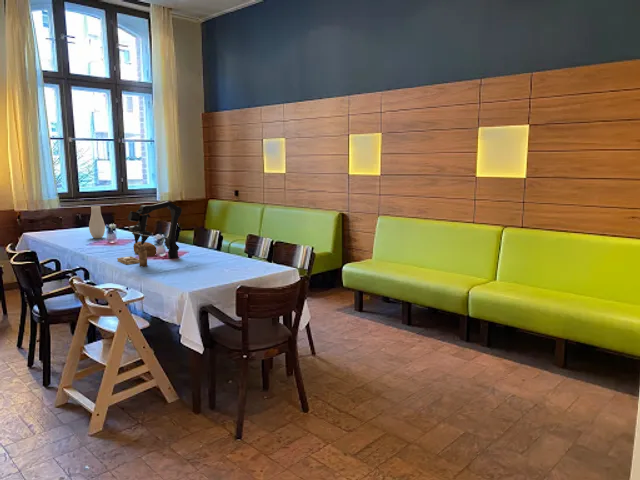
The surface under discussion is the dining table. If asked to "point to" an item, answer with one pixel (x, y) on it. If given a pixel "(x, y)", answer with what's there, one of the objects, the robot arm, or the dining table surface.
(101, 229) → the vase
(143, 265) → the pepper mill
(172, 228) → the robot arm
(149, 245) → the bread
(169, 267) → the dining table surface
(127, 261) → the caddy
